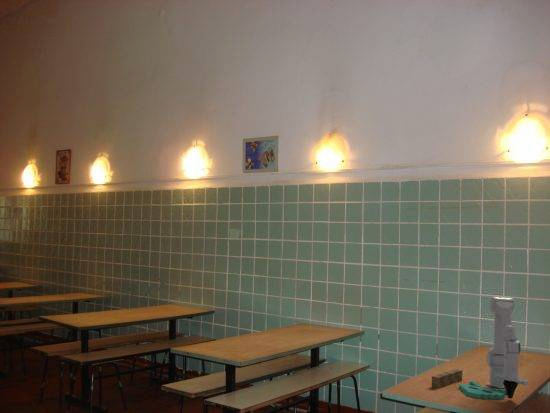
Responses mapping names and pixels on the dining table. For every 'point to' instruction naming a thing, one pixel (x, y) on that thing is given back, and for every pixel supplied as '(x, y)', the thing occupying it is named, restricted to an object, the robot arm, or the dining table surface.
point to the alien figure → (482, 391)
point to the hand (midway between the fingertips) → (510, 397)
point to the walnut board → (446, 378)
